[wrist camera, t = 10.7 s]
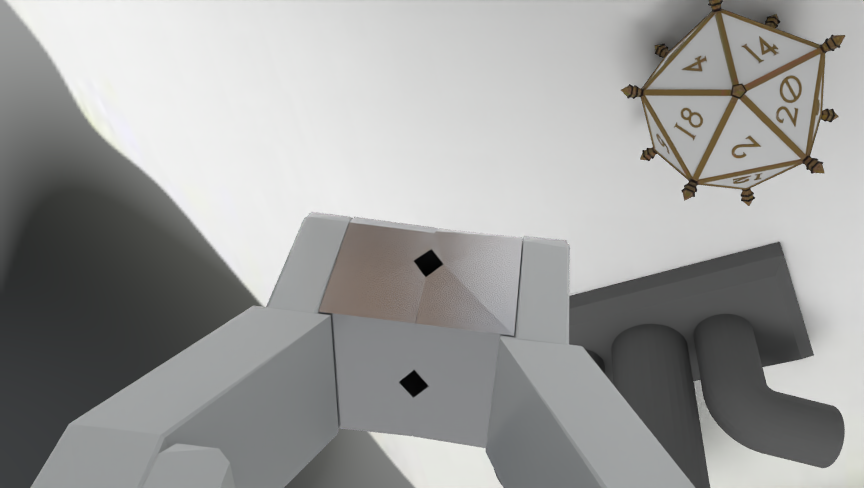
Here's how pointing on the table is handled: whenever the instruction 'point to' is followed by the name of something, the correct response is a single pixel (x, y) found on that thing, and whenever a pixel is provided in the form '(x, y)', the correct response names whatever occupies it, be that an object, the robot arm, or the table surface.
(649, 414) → the faucet
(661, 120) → the game die
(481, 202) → the table surface
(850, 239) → the table surface
